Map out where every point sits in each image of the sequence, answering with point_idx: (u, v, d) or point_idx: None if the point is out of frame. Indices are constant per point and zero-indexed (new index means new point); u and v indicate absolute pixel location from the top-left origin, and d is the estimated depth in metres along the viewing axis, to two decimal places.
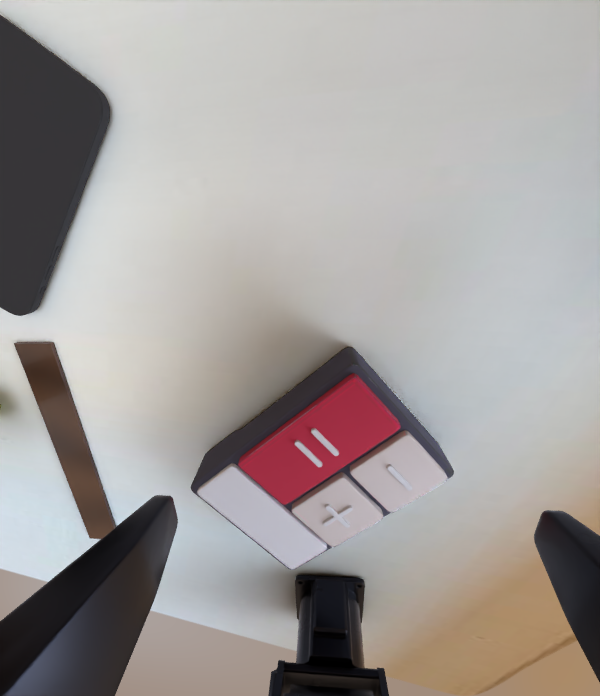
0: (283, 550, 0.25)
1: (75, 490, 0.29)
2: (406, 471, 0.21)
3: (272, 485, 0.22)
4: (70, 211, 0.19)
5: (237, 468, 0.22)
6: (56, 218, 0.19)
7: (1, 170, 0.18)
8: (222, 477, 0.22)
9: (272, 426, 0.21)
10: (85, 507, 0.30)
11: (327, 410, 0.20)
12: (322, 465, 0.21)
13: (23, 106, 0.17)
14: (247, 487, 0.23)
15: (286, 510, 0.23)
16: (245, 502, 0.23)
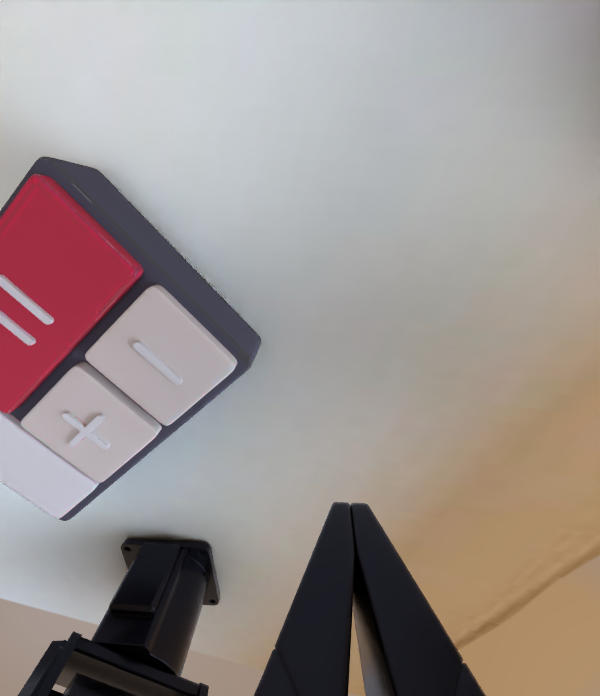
0: (35, 489, 0.17)
1: None
2: (167, 353, 0.14)
3: None
4: None
5: None
6: None
7: None
8: None
9: None
10: None
11: (11, 240, 0.12)
12: (31, 341, 0.13)
13: None
14: None
15: (20, 425, 0.16)
16: None
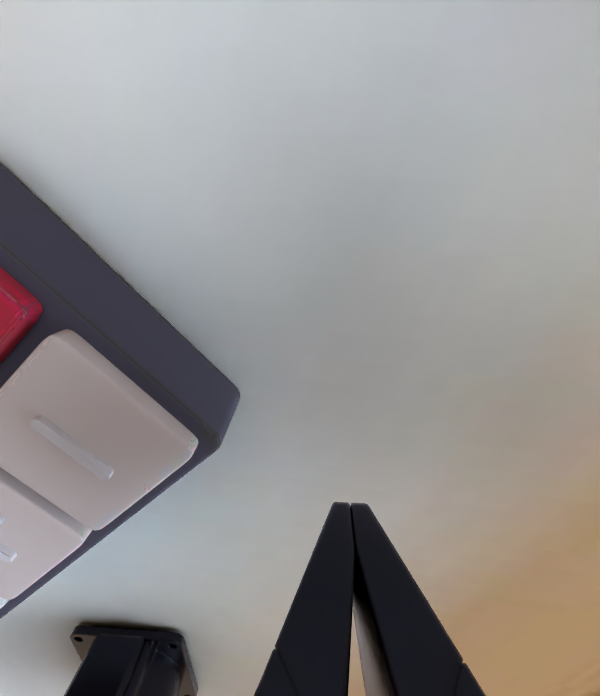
0: None
1: None
2: (87, 433, 0.09)
3: None
4: None
5: None
6: None
7: None
8: None
9: None
10: None
11: None
12: None
13: None
14: None
15: None
16: None
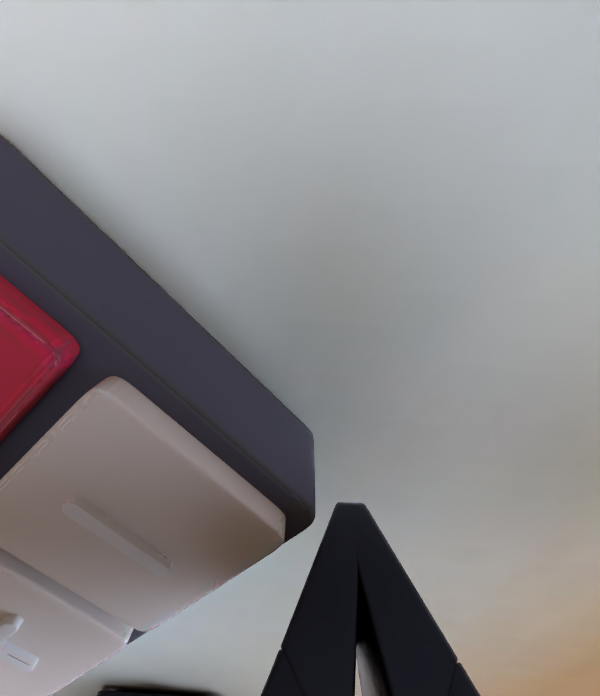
0: None
1: None
2: (140, 517, 0.06)
3: None
4: None
5: None
6: None
7: None
8: None
9: None
10: None
11: None
12: None
13: None
14: None
15: None
16: None
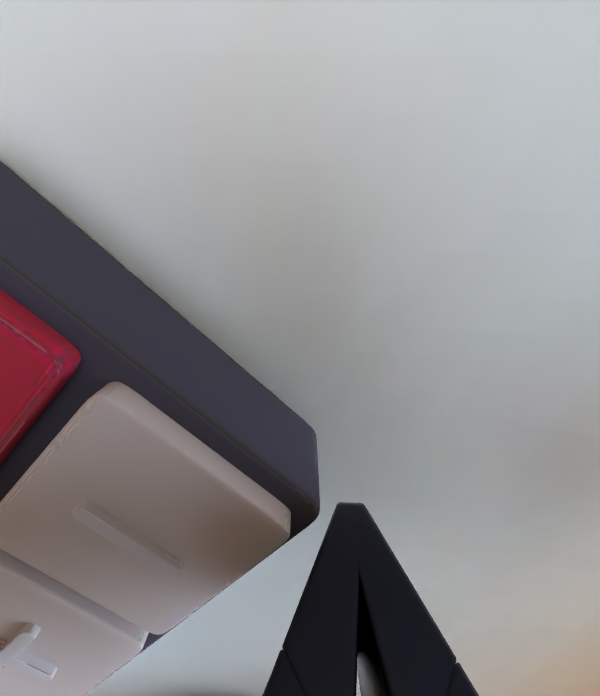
0: None
1: None
2: (148, 519, 0.07)
3: None
4: None
5: None
6: None
7: None
8: None
9: None
10: None
11: None
12: None
13: None
14: None
15: None
16: None
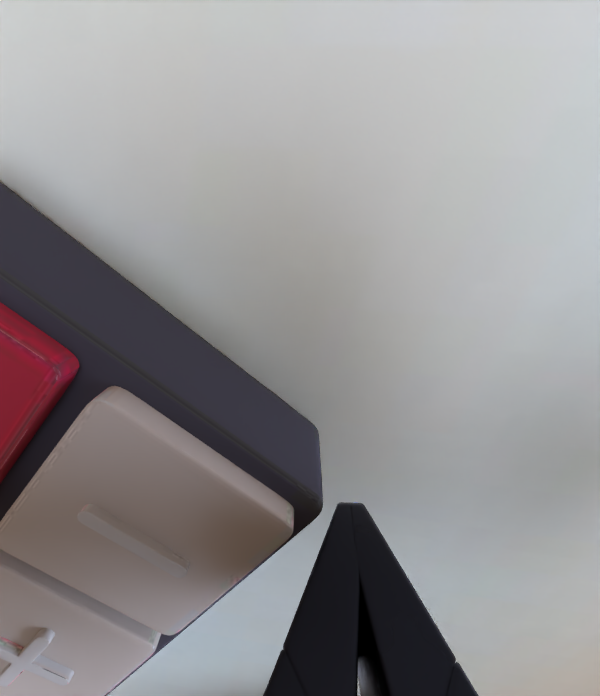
0: None
1: None
2: (152, 520, 0.07)
3: None
4: None
5: None
6: None
7: None
8: None
9: None
10: None
11: None
12: None
13: None
14: None
15: None
16: None
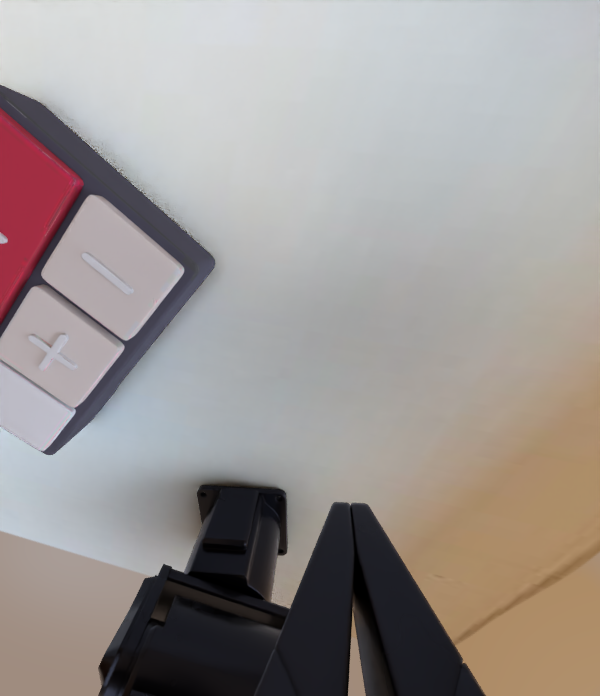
0: (18, 422, 0.18)
1: None
2: (115, 262, 0.14)
3: None
4: None
5: None
6: None
7: None
8: None
9: None
10: None
11: None
12: None
13: None
14: None
15: None
16: None
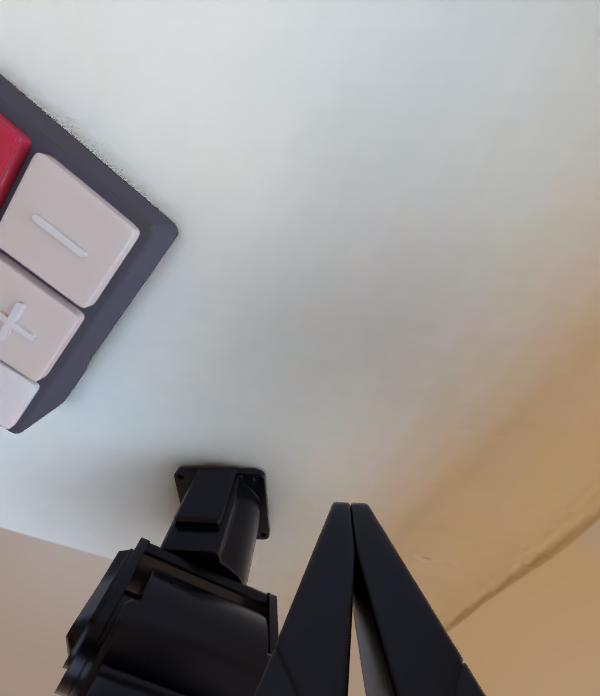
0: None
1: None
2: (67, 224, 0.14)
3: None
4: None
5: None
6: None
7: None
8: None
9: None
10: None
11: None
12: None
13: None
14: None
15: None
16: None
